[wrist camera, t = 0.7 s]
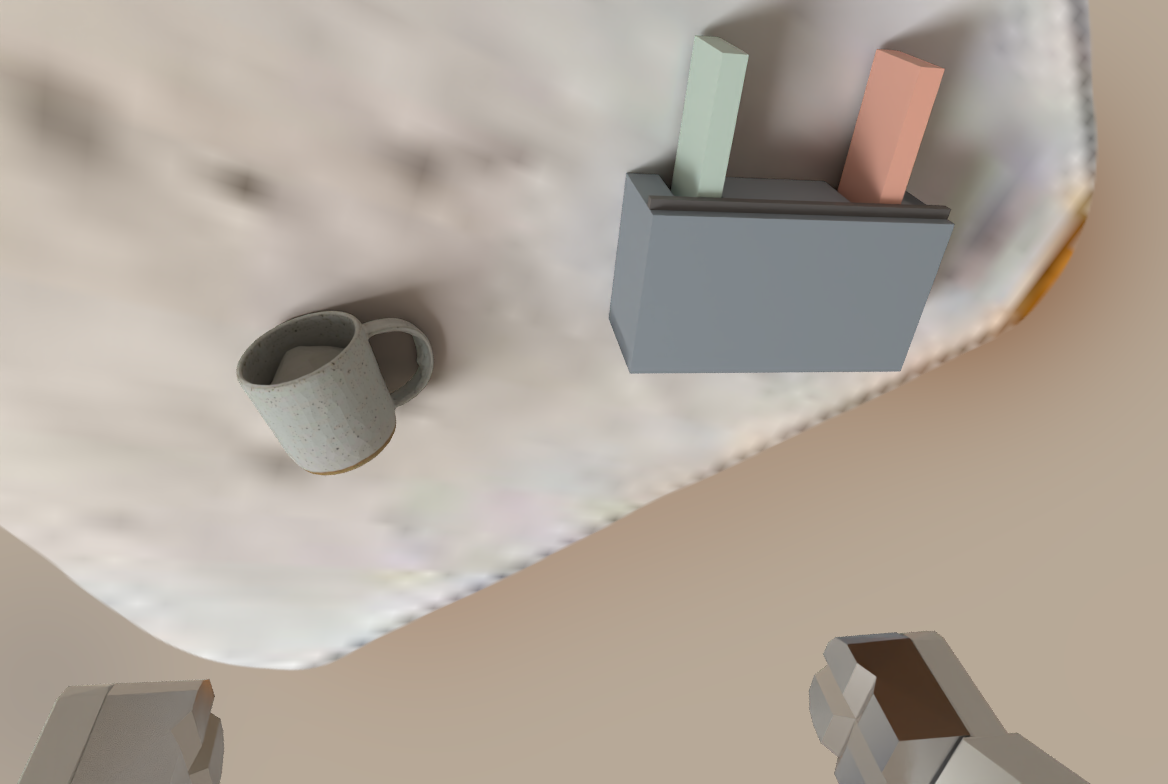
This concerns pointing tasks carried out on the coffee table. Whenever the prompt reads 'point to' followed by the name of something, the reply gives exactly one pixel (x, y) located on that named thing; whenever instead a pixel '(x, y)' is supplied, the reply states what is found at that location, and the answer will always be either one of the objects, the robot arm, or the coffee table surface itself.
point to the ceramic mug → (328, 388)
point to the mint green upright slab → (708, 117)
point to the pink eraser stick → (889, 127)
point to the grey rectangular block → (770, 278)
